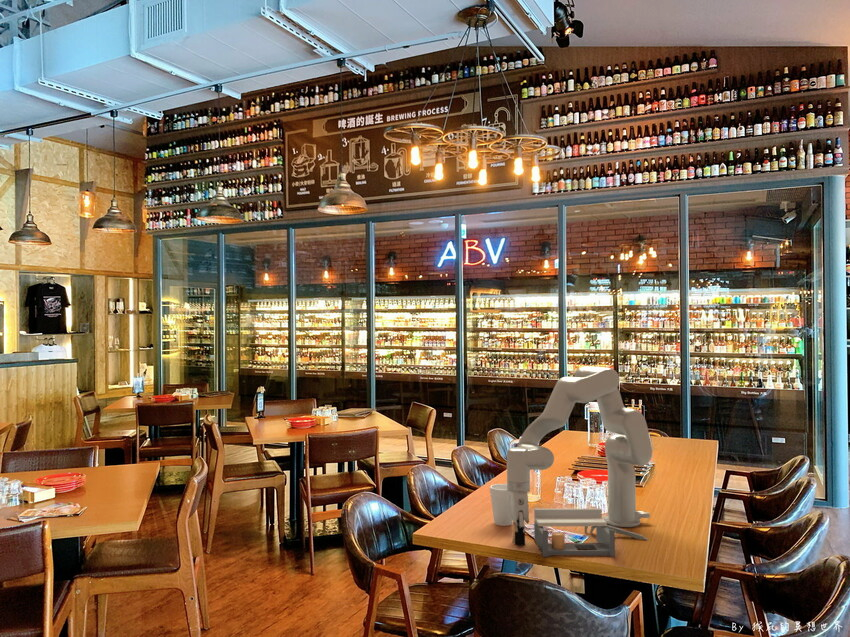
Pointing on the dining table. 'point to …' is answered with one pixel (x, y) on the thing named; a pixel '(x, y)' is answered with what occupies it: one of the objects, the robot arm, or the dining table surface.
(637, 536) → the caliper
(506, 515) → the foam cup
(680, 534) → the dining table surface
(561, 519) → the lid
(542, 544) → the housing
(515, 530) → the peg
